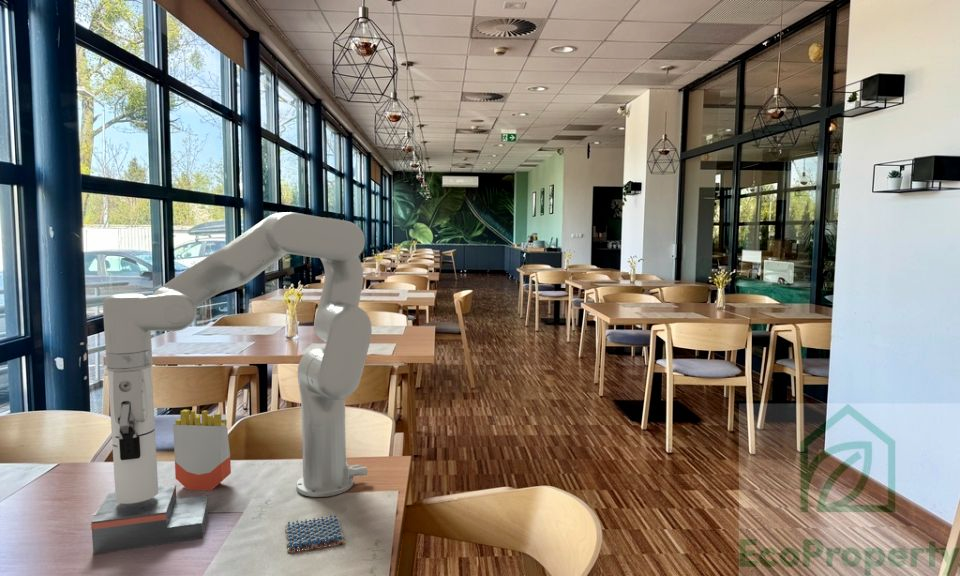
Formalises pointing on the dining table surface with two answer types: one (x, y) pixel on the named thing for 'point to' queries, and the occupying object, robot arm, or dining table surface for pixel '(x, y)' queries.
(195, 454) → the french fries container
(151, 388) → the cylindrical container
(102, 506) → the step stand
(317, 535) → the woven mat
